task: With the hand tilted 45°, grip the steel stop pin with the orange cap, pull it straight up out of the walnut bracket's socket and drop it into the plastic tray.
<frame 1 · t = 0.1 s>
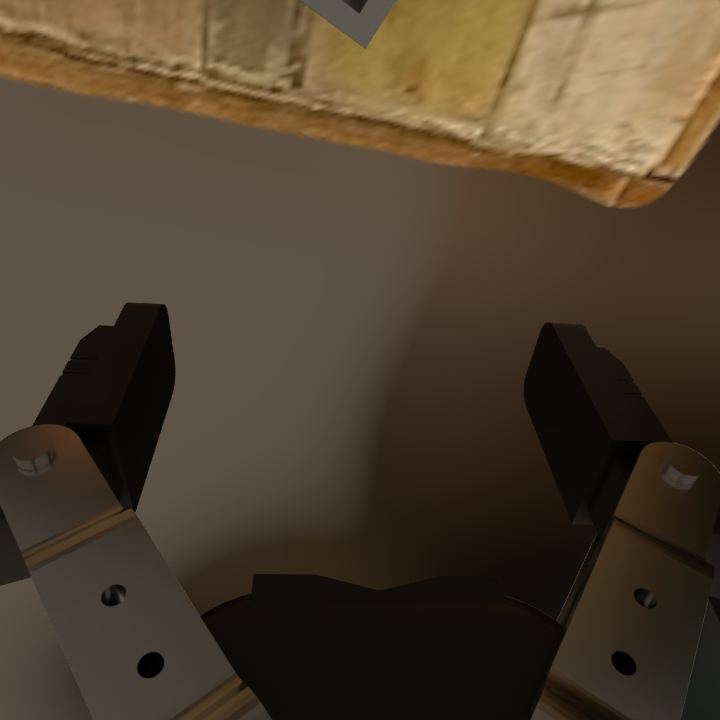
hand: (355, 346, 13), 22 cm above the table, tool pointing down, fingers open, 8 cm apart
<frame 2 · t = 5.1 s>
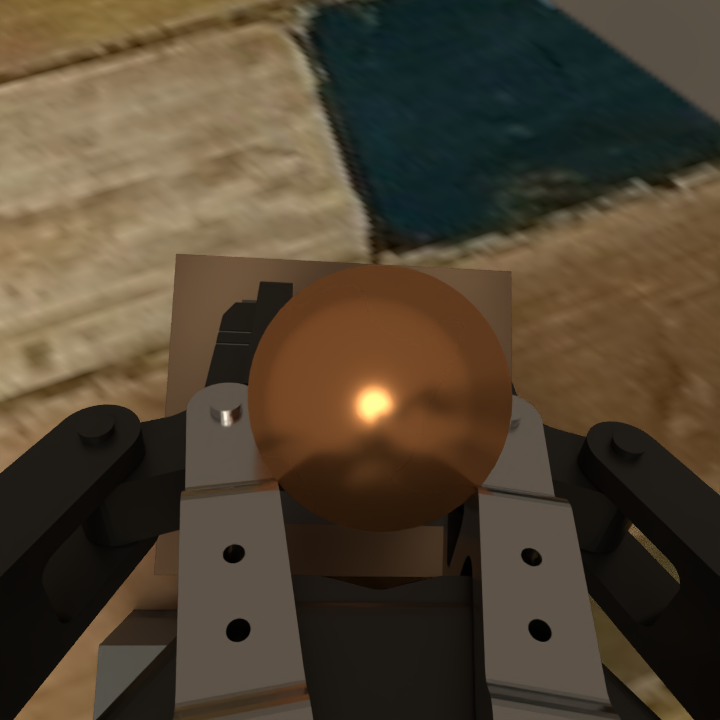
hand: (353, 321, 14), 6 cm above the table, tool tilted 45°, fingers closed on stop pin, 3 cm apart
stop pin: (342, 414, 17), point 2 cm above the table, touching gripper, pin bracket
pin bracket: (339, 416, 19), on the table
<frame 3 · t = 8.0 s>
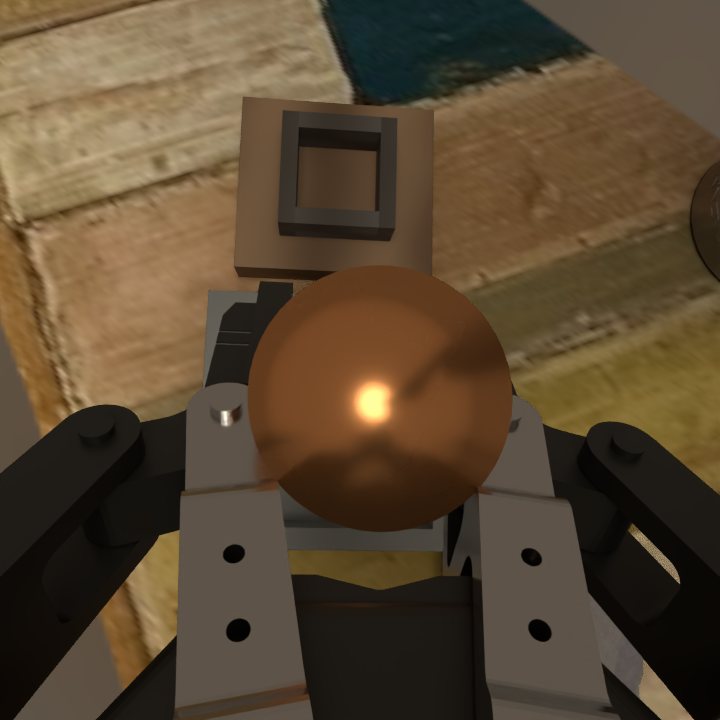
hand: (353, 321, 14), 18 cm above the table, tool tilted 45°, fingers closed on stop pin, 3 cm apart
stop pin: (342, 414, 17), point 14 cm above the table, touching gripper
tray: (328, 420, 31), on the table
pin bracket: (335, 200, 32), on the table
stone block: (530, 620, 31), on the table
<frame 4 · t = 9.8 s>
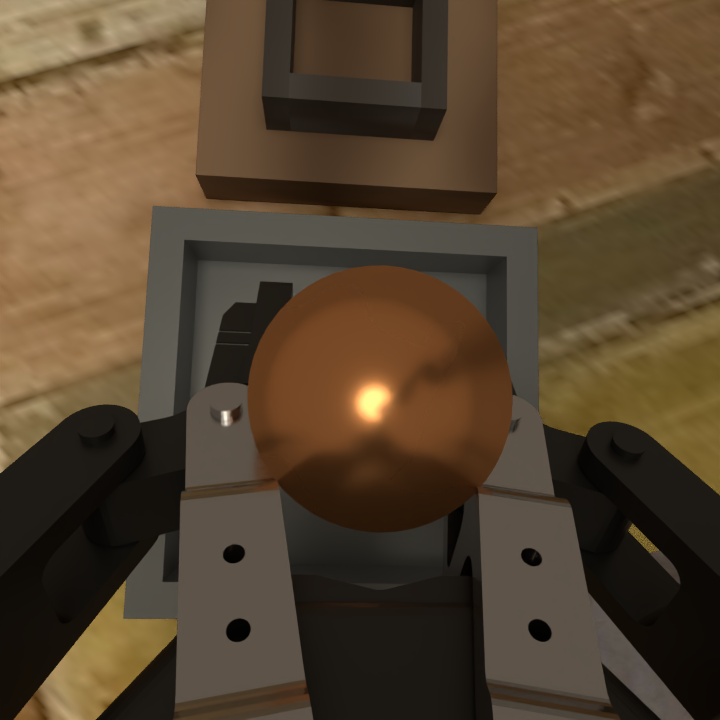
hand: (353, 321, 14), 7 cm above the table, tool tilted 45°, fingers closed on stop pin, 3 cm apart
stop pin: (343, 414, 17), point 4 cm above the table, touching gripper
tray: (339, 412, 21), on the table
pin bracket: (349, 90, 22), on the table
stone block: (635, 719, 21), on the table, touching tray
when the fingers open (7 cm above the table, at t = 10.7 s): stop pin drops 2 cm, resting on tray.
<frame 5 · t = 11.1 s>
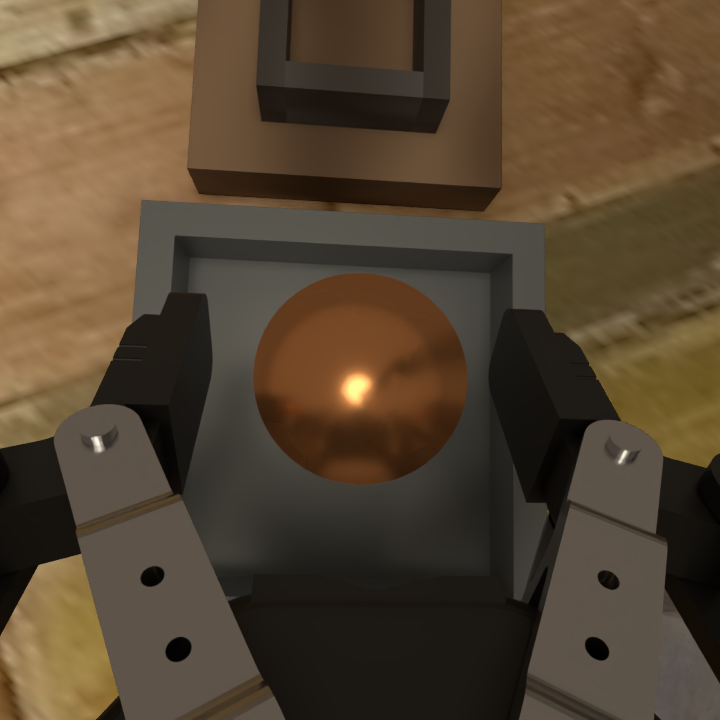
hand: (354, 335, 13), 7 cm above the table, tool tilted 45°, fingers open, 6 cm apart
stop pin: (339, 422, 19), point 1 cm above the table, touching tray
tray: (337, 417, 20), on the table
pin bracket: (348, 82, 21), on the table
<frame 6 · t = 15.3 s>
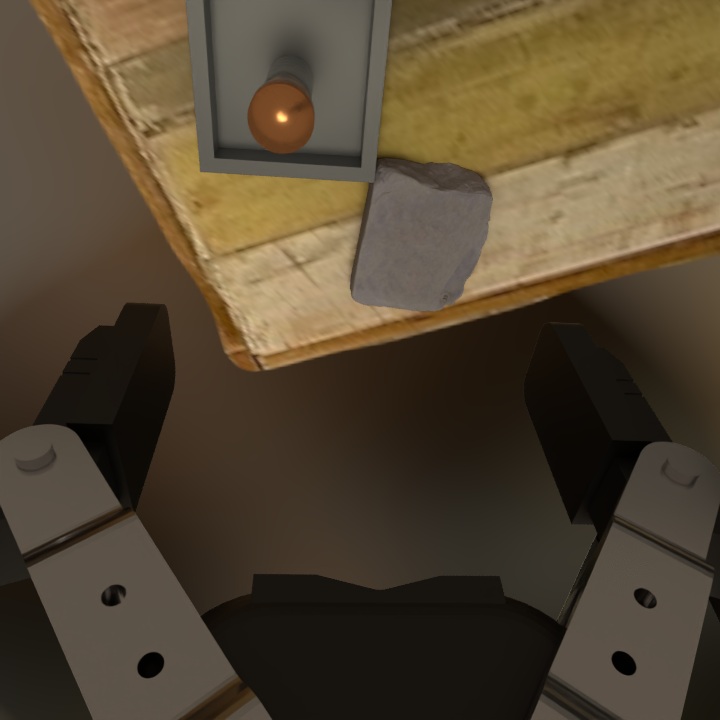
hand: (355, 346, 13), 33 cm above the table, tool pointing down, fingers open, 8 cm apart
stop pin: (291, 79, 39), point 1 cm above the table, touching tray
tray: (291, 73, 40), on the table
stone block: (418, 230, 48), on the table
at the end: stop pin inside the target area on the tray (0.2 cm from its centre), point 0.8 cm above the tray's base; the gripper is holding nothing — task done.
